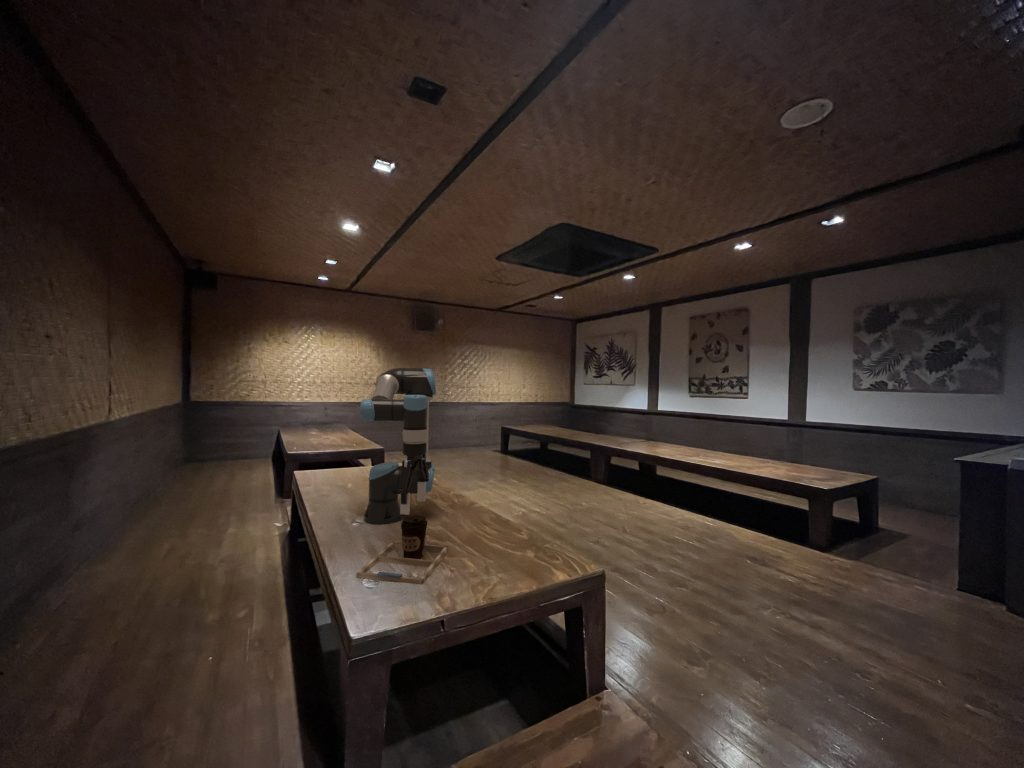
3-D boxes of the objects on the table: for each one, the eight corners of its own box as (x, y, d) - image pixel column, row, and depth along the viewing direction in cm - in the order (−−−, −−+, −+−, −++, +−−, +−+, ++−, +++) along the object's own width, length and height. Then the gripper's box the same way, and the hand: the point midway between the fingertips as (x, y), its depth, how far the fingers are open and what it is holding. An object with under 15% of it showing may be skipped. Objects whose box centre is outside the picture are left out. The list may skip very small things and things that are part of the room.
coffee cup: (419, 565, 123) (420, 524, 123) (395, 562, 125) (395, 521, 125) (430, 553, 132) (431, 515, 132) (407, 551, 134) (408, 512, 133)
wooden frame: (392, 547, 136) (392, 539, 136) (447, 552, 133) (448, 544, 133) (355, 580, 113) (355, 571, 113) (421, 587, 110) (422, 578, 110)
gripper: (418, 436, 141) (417, 495, 141) (386, 447, 117) (384, 519, 117) (438, 437, 140) (437, 497, 140) (410, 448, 116) (408, 521, 116)
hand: (413, 507), depth 128 cm, fingers open, 13 cm apart
